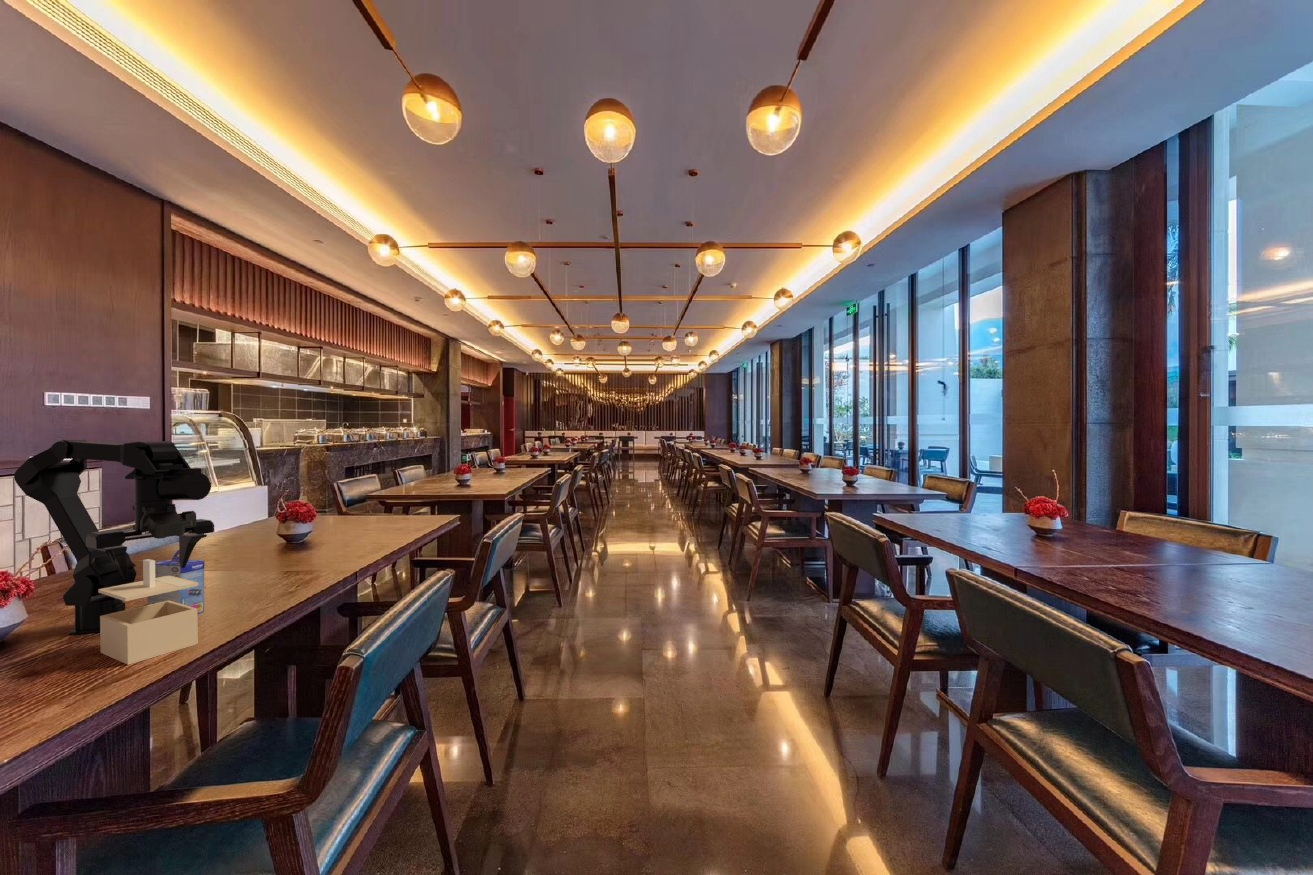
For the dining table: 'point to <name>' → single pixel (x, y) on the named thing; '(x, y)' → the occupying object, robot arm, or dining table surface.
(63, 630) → the dining table surface
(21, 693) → the dining table surface
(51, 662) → the dining table surface
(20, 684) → the dining table surface
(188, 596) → the ink cartridge box
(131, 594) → the carton lid
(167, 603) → the carton
